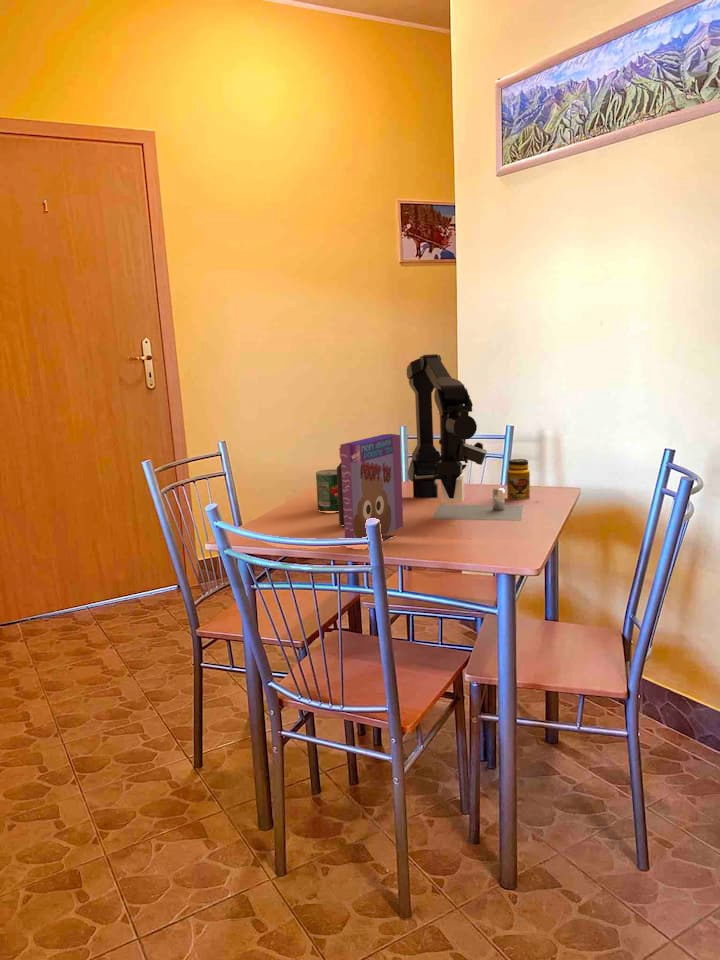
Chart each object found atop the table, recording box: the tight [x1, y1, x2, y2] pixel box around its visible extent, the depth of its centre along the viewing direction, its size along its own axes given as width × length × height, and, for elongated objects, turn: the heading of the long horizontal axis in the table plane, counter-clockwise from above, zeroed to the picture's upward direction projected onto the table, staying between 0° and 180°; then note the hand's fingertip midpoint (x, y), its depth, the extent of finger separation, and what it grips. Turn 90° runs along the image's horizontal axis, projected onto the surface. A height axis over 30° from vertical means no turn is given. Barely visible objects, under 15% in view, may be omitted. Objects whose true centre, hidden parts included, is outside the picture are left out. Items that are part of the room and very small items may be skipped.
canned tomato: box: [315, 469, 339, 511], centre depth 198 cm, size 8×8×11 cm
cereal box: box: [339, 433, 404, 542], centre depth 165 cm, size 17×5×24 cm, turn 145°
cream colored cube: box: [440, 475, 465, 503], centre depth 180 cm, size 5×5×6 cm
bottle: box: [336, 447, 344, 525], centre depth 180 cm, size 7×7×20 cm
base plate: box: [431, 503, 524, 522], centre depth 183 cm, size 22×16×2 cm
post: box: [492, 487, 506, 511], centre depth 184 cm, size 3×3×6 cm
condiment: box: [506, 458, 537, 503], centre depth 198 cm, size 7×8×12 cm
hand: (452, 495), depth 180 cm, fingers closed on cream colored cube, 5 cm apart
